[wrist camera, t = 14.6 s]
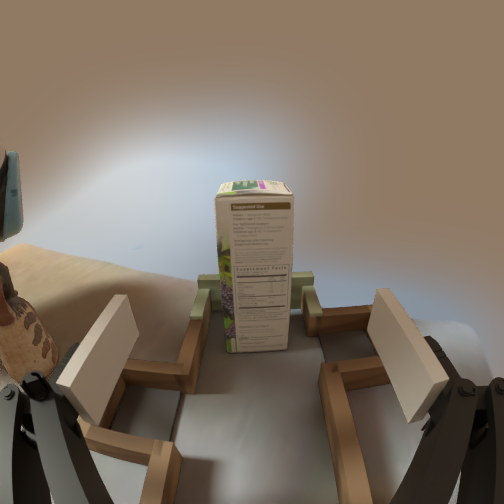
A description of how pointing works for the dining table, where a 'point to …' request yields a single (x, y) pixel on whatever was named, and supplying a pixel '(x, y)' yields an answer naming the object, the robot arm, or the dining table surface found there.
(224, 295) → the syrup box
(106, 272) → the dining table surface
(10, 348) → the figurine
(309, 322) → the channel
